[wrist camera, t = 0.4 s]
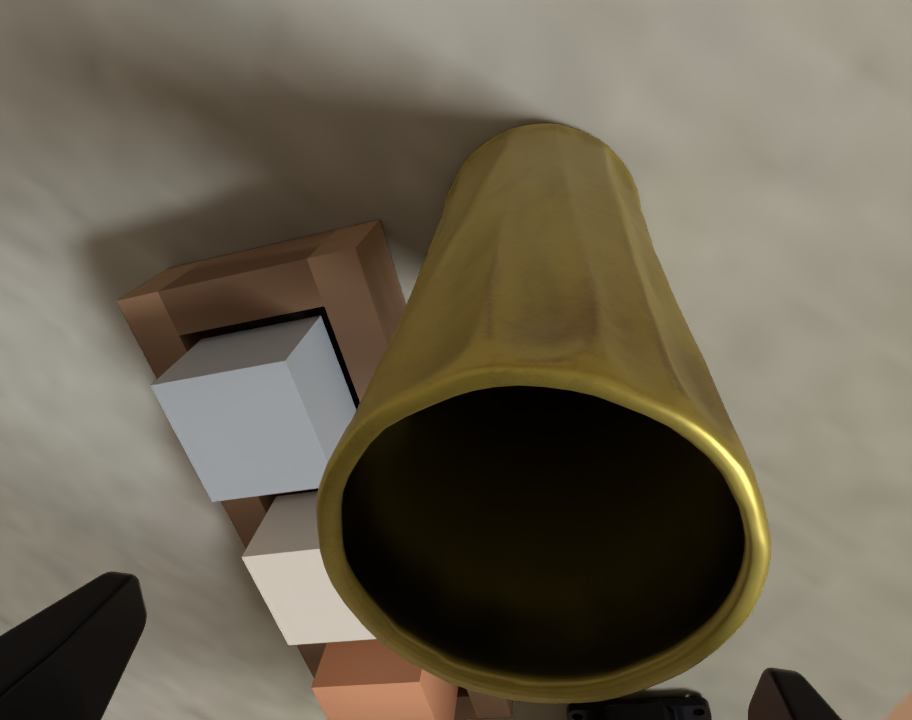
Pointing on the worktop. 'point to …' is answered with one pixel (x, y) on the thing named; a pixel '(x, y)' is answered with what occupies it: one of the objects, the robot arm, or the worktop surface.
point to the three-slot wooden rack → (276, 293)
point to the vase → (544, 448)
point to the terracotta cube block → (378, 685)
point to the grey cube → (258, 408)
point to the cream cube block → (298, 575)
